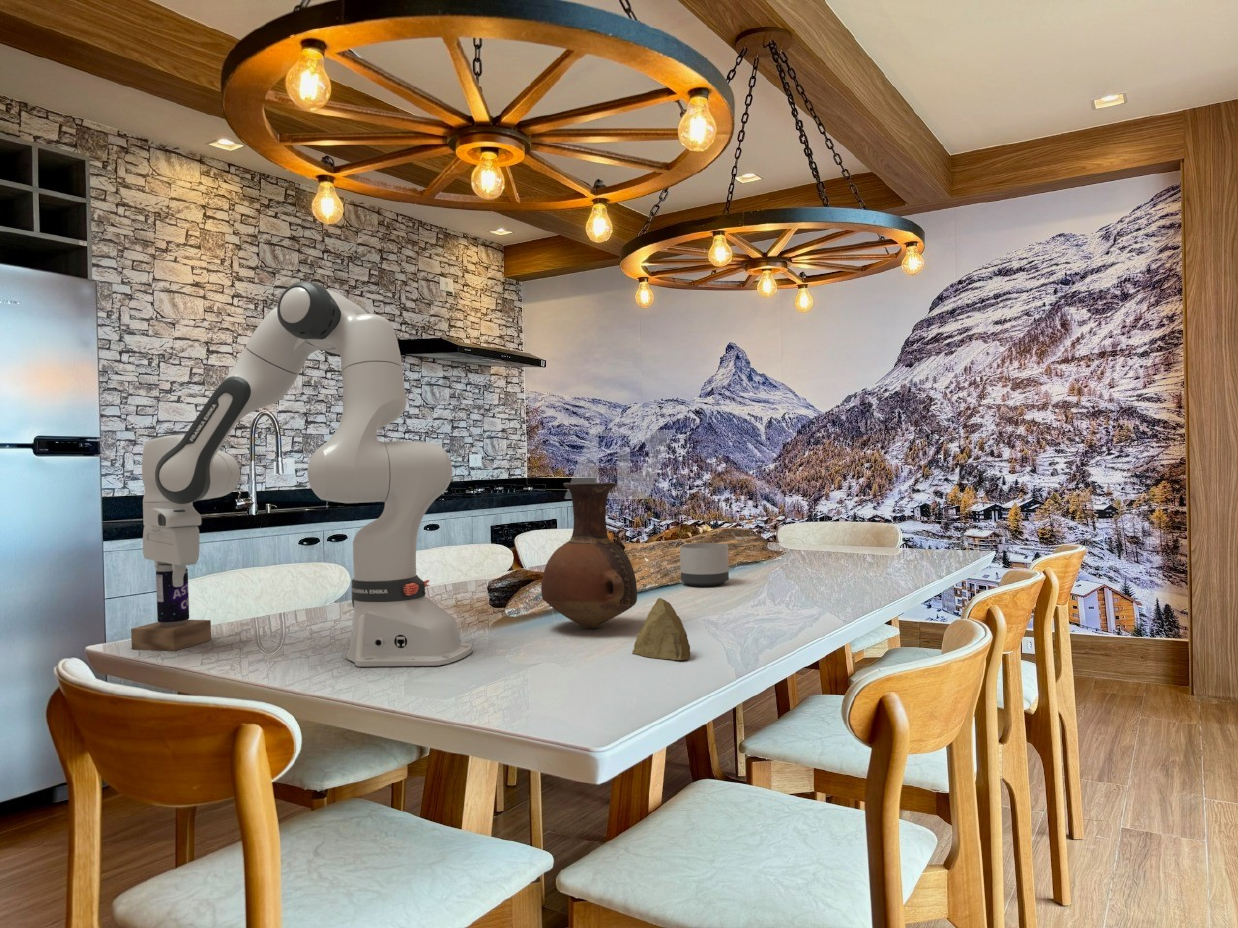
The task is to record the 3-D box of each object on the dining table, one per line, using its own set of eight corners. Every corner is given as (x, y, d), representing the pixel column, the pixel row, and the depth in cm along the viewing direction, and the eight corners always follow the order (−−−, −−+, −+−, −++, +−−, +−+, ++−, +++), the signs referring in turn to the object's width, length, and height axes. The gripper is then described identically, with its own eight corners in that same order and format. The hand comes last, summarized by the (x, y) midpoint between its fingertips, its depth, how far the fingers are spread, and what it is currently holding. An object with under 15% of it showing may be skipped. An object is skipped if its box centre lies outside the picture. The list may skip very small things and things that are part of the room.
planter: (678, 588, 229) (677, 548, 229) (683, 580, 242) (682, 543, 241) (727, 588, 227) (726, 547, 227) (729, 580, 239) (728, 542, 239)
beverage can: (174, 626, 171) (172, 565, 171) (150, 626, 172) (148, 565, 172) (195, 621, 176) (193, 562, 176) (172, 620, 178) (170, 562, 178)
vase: (665, 629, 175) (661, 480, 175) (582, 644, 164) (577, 485, 164) (597, 613, 196) (593, 479, 195) (518, 625, 184) (515, 483, 184)
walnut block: (211, 639, 178) (210, 620, 177) (174, 650, 168) (173, 630, 168) (170, 638, 180) (169, 618, 180) (131, 649, 170) (131, 628, 170)
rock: (708, 646, 149) (688, 627, 159) (680, 610, 147) (662, 593, 156) (659, 688, 148) (642, 666, 157) (630, 652, 145) (615, 632, 155)
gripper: (133, 514, 179) (135, 582, 179) (170, 518, 165) (172, 591, 165) (165, 512, 183) (167, 578, 184) (205, 516, 169) (207, 587, 170)
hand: (170, 584), depth 174 cm, fingers closed on beverage can, 6 cm apart
